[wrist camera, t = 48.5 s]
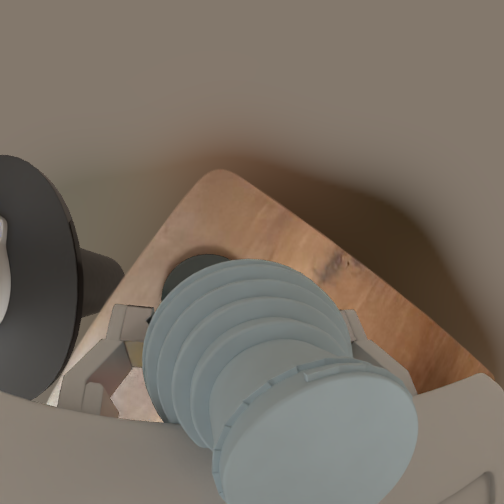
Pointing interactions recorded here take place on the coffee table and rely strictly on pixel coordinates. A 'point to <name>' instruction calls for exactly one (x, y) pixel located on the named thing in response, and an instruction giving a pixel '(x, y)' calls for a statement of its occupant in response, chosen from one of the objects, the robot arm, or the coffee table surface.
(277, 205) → the coffee table surface
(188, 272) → the coaster
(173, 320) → the bottle
